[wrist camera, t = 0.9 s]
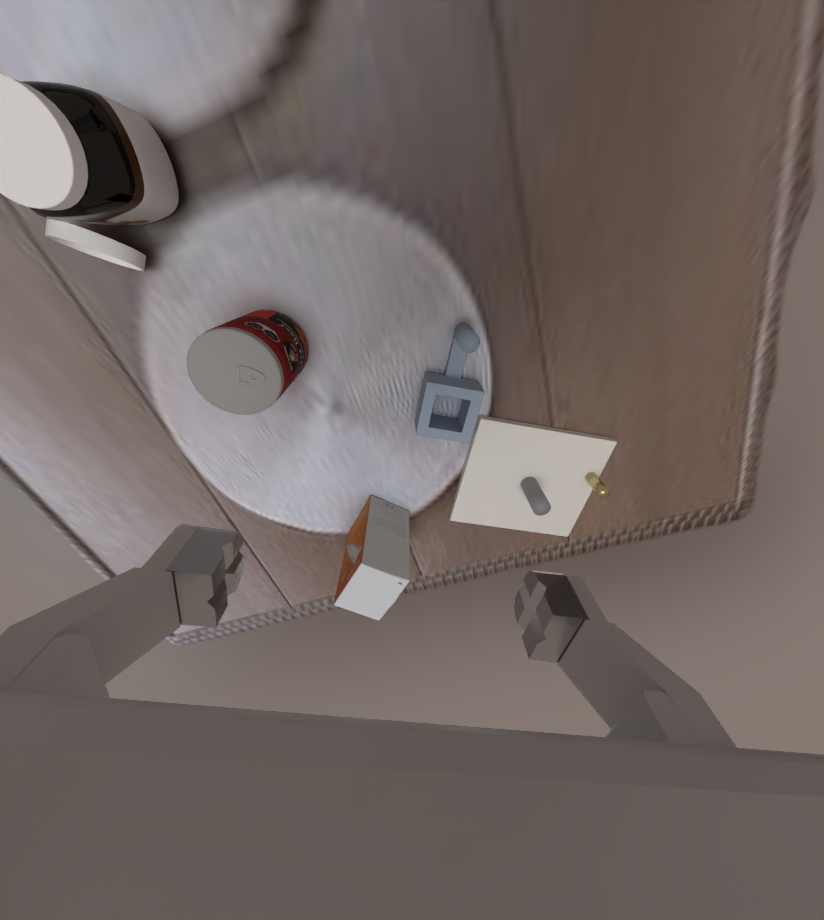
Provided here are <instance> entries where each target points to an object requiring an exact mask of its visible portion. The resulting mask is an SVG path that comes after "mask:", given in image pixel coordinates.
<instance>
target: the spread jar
mask: <svg viewBox="0 0 824 920" xmlns="http://www.w3.org/2000/svg"><path fill="white" fill-rule="evenodd" d="M0 193H1V194H2V195H4V196H5V197H7V198H9V199H11V200H12V201H14V202H16V203H18V204H21V205H24V206H27V207H29V208H30V209H31V210H33V211H34V212H35V213H37V214H38V215H40V216H43V217H45V218H48V219H47V223H46V233H45V235H46V236H47V237H49V238H51V239H53V240H55V241H57V242H59V243H61V244H64V245H66V246H69V247H71V248H74V249H76V250H79V251H81V252H84V253H87V254H89V255H92V256H95V257H98V258H100V259H103V260H106V261H109V262H112V263H115V264H118V265H121V266H125V267H128V268H131V269H135V270H139V271H144V268H145V261H146V256H145V255H144V254H143V253H141V252H139V251H137V250H135V249H133V248H131V247H129V246H127V245H125V244H122V243H120V242H118V241H115V240H113V239H111V238H108V237H106V236H103V235H101V234H98V233H96V232H93V231H90V230H87V229H85V228H82V227H79V226H76V225H73V224H70V223H67V222H74V223H86V224H100V225H142V224H148V223H153V222H156V221H159V220H161V219H163V218H165V217H167V216H169V215H170V214H171V213H173V212H174V211H175V209H176V208H177V206H178V201H179V194H178V186H177V181H176V177H175V173H174V170H173V167H172V164H171V161H170V159H169V156H168V154H167V152H166V150H165V148H164V146H163V144H162V142H161V140H160V138H159V136H158V135H157V133H156V132H155V130H154V129H153V127H152V126H151V125H150V124H149V123H148V121H147V120H146V119H145V118H143V117H142V116H141V115H139V114H138V113H137V112H135V111H133V110H131V109H130V108H128V107H126V106H124V105H122V104H120V103H118V102H116V101H114V100H112V99H110V98H108V97H106V96H103V95H101V94H99V93H96V92H93V91H91V90H88V89H84V88H80V87H76V86H72V85H67V84H61V83H51V82H40V81H21V82H20V81H18V80H16V79H13V78H11V77H9V76H6V75H4V74H2V73H0Z"/></svg>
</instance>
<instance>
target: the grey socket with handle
mask: <svg viewBox="0 0 824 920" xmlns="http://www.w3.org/2000/svg"><path fill="white" fill-rule="evenodd" d="M479 344H480V339H479V337H478V335H477V334H476V333H475V332H474V330H473V329H472V328H471V327H470V326H469V325H468V324H466V323H461V324H459V325H457V326H456V327H455V329H454V337H453V341H452V345H451V350H450V354H449V358H448V362H447V367H446V371H445V375H443V374H438V373H432V372H427V371H425V376H424V380H423V385H422V390H421V395H420V400H419V404H418V409H417V414H416V419H415V428H416V435H419V436H426V437H432V438H438V439H444V440H450V441H457V442H463V443H470V440H471V436H472V433H473V430H474V426H475V423H476V420H477V416H478V413H479V409H480V406H481V403H482V399H483V396H484V393H485V392H484V390H483V388H482V387H481V385H480V383H479V381H477V380H471V379H466V378H461V375H462V371H463V367H464V363H465V360H466V356H467V353H471V352H474V351H475V350H476V349H477V348H478V347H479ZM436 395H442V396H448V397H453V398H459V399H463V401H462V405H461V408H460V412H459V416H458V419H455V418H449V417H443V416H437V415H431V413H432V409H433V404H434V400H435V396H436Z"/></svg>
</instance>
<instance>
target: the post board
mask: <svg viewBox="0 0 824 920" xmlns="http://www.w3.org/2000/svg"><path fill="white" fill-rule="evenodd" d="M616 443H617V441H616V440H615V439H613V438H611V437H605V436H599V435H593V434H588V433H582V432H576V431H570V430H564V429H558V428H552V427H547V426H541V425H535V424H529V423H523V422H517V421H512V420H506V419H500V418H494V417H488V416H482V415H479V417H478V420H477V424H476V427H475V430H474V434H473V437H472V440H471V444H470V447H469V450H468V454H467V457H466V460H465V464H464V467H463V470H462V474H461V477H460V480H459V484H458V487H457V490H456V494H455V497H454V500H453V504H452V507H451V510H450V514H449V518H450V521H458V522H465V523H472V524H479V525H487V526H494V527H501V528H508V529H516V530H523V531H530V532H538V533H545V534H552V535H559V536H567V537H568V535H569V534H570V532H571V530H572V528H573V526H574V524H575V522H576V520H577V518H578V516H579V514H580V512H581V511H582V509H583V507H584V505H585V503H586V501H587V499H588V497H589V495H590V493H591V491H592V489H593V488H592V487H591V486H590V485H589V483H588V482H587V481H586V480H585V476H586V474H587V473H589V472H593V473H595V474H596V475H597V477H598V478H599V476H600V474H601V472H602V470H603V468H604V466H605V465H606V463H607V461H608V459H609V457H610V455H611V453H612V451H613V449H614V447H615V445H616Z"/></svg>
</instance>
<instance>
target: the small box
mask: <svg viewBox="0 0 824 920" xmlns="http://www.w3.org/2000/svg"><path fill="white" fill-rule="evenodd" d="M409 581H410V550H409V511H407V510H405V509H403V508H400V507H398V506H396V505H393V504H391V503H389V502H386V501H384V500H382V499H379V498H377V497H374V496H372V495H371V496H370V498H369V500H368V501H367V503H366V505H365V507H364V508H363V510H362V512H361V513H360V515H359V517H358V518H357V520H356V522H355V523H354V525H353V526H352V528H351V530H350V531H349V533H348V538H347V543H346V548H345V553H344V557H343V562H342V567H341V572H340V577H339V582H338V586H337V591H336V596H335V601H334V605H335V606H338V607H341V608H344V609H347V610H350V611H353V612H355V613H358V614H361V615H364V616H367V617H370V618H373V619H376V620H380V619H381V618H382V616H383V615H384V614H385V613H386V611H387V610H388V609H389V608H390V606H391V605H392V604H393V603H394V602H395V601H396V599H397V598H398V597H399V595H400V593H401V592H402V591H403V589H404V588H405V587H406V585H407V584H408V583H409Z"/></svg>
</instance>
